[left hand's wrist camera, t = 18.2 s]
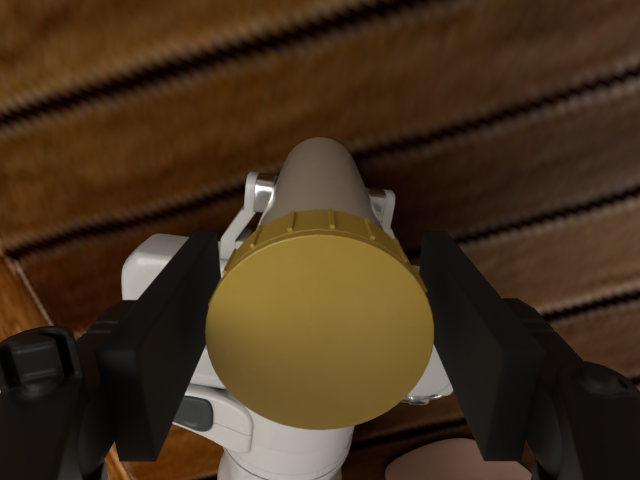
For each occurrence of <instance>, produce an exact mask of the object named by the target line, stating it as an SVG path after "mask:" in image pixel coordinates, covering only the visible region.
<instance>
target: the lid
mask: <svg viewBox="0 0 640 480" xmlns="http://www.w3.org/2000/svg"><path fill="white" fill-rule="evenodd" d="M222 273H223V274H224V275H223V277H222V278H221V279H220V281H219V283H218V285H217V287H216V289H215V291H214V293H213V295H212V297H211V299H210V301H209V303H208V306H209V309H208V313H207V317H206V326H205V337H206V346H207V351H208V355H209V359H210V361H211V364H212V366H213V369H214V371H215V373H216V374H217V376H218V378H219V380H220V381H221V382H222V384H223V385H224V386H225V388H226V389H227V390H228V391H229V392H230V393H231V394H232V395H233V396H234V398H235V399H236V400H238V401H239V402H240V403H241V404H243V405H244V406H245V407H246V408H248V409H250V410H251V411H253V412H254V413H256V414H258V415H260V416H262V417H264V418H266V419H268V420H270V421H273V422H276V423H279V424H282V425H285V426H290V427H294V428H300V429H308V430H331V429H340V428H345V427H350V426H354V425H357V424H361V423H364V422H366V421H369V420H371V419H374V418H376V417H378V416H380V415H382V414H383V413H385V412H387V411H388V410H390V409H391V408H393V407H394V406H396V405H397V404H398V403H399V402H401V401H402V400H403V399H404V398H405V397H406V396H407V395H408V394H409V393H410V392H411V391H412V390H413V388H414V387H415V386H416V385H417V383H418V382H419V380H420V379H421V377H422V376H423V374H424V372H425V370H426V368H427V365H428V363H429V360H430V357H431V354H432V350H433V343H434V321H433V314H432V310H431V307H430V304H429V301H428V298H427V296H426V294H425V293H426V292H428V291H427V289H426V287H425V285H424V283H423V281H422V279H421V277H420V275H419V273H418V271H417V269H416V267H415V265H413V266H411V264H410V262H409V260H408V258H407V256H406V255H405V253H404V252H403V249H402V247H401V245H400V243H399V241H398V239H397V238H394V239H393V238H392V237H391V236H390V235H388V234H387V233H386V232H385V231H383V230H382V229H381V228H379V227H378V226H376V225H374V224H373V223H371V222H370V220H369V218H367V217H365V219H363V218H360V217H358V216H355V215H352V214H348V213H345V212H339V211H333V208H329V210H307V211H300V212H295V210H293V211H291V214H288V215H285V216H282V217H279V218H276V219H275V220H273V221H271V222H269V223H267V224H265V225H263V226H261V224H260V225H259V226H257V229H256V231H255V232H253V233H252V234H251V235H250V236H249V237H248V238H247V239H246V240H245V241H244V242H243V243H242V244H241V246H240V247H239V248H238V249H234V250H233V252H232V254H231V256H230V258H229V260H228V262H227V264H226V266H225V267H224V269H223V271H222Z"/></svg>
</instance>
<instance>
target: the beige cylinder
mask: <svg viewBox="0 0 640 480" xmlns="http://www.w3.org/2000/svg"><path fill="white" fill-rule="evenodd" d="M329 208H333V211H339V212H345V213H348V214H352V215H355V216H358V217H360V218H363V219H365V217H367V218H369V220H370V222H371V223H373V224H374V225H376V226H378V227H379V228H381V229H382V230H383V231H384V229H383V227H382V224H381V222H380V220H379V217H378V215H377V213H376V210H375V208H374V206H373V203H372V201H371V199H370V196H369V194H368V192H367V189H366V187H365V185H364V182H363V180H362V178H361V175H360V173H359V171H358V168H357V166H356V164H355V161H354V159H353V157H352V155H351V154H350V152H349V151H348V150H347V149H346V148H345V147H344V146H343V145H342V144H340V143H339V142H337V141H335V140H332V139H329V138H323V137H317V138H311V139H307V140H305V141H303V142H301V143H299V144H298V145H297V146H295V147H294V148H293V149H292V150H291V152H290V153H289V155H288V156H287V158H286V160H285V163H284V165H283V167H282V170H281V172H280V174H279V177H278V179H277V181H276V184H275V186H274V188H273V191H272V193H271V196H270V198H269V200H268V203H267V205H266V207H265V210H264V212H263V214H262V217H261V219H260V221H259V224H258V226H259V225H260V224H261V226H263V225H265V224H267V223H269V222H271V221H273V220H275V219H276V218H279V217H282V216H285V215H288V214H291V211H293V210H295V212H300V211H307V210H329ZM256 229H257V228H256Z"/></svg>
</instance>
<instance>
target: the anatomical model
mask: <svg viewBox="0 0 640 480" xmlns="http://www.w3.org/2000/svg"><path fill="white" fill-rule="evenodd" d="M531 476H532V474H531V473H530V472H529V471H528V470H527V469H526V468H525V467H523V466H522V465H521V464H519V463H518V462H516V461H484V460H483V458H482V455H481V453H480V451H479V448H478V446H477V444H476V441H475V440H472V439H465V438H452V439H445V440H441V441H437V442H433V443H430V444H427V445H424V446H422V447H419V448H417V449H414V450H412V451H410V452H408V453H405V454H404V455H402V456H400V457H398V458H396V459H395V460H393V461H392V462H391V463H390V464H389V465H388V466H387V468H386V470H385V478H386V480H531Z"/></svg>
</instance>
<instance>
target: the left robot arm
mask: <svg viewBox="0 0 640 480" xmlns="http://www.w3.org/2000/svg"><path fill="white" fill-rule="evenodd" d="M419 275H420V277H421V279H422V281H423V283H424V285H425V287H426V289H427V291H428V292H426V293H425V294H426V296H427V298H428V301H429V304H430V307H431V310H432V314H433V321H434V343H433V344H434V346H435V348H436V351H437V353H438V355H439V358H440V360H441V362H442V365H443V367H444V369H445V372H446V374H447V376H448V379H449V381H450V383H451V386H452V388H453V390H454V393H455V395H456V397H457V400H458V402H459V404H460V407H461V409H462V411H463V414H464V416H465V418H466V421H467V423H468V425H469V427H470V430H471V432H472V434H473V437H474V439H475V441H476V444H477V446H478V448H479V451H480V453H481V455H482V458H483V460H484V461H521V457H522V453H523V448H524V444H525V440H526V441H527V442H528V444H529V446H530V448H531V449H532V451H533V453H534V455H535V456H536V460H535V464H534V468H533V472H532V476H531V480H640V392H639V390H638V389H637V388H636V387H635V386H634V384H633V383H632V382H631V381H630V380H628V379H627V378H626V377H624V376H623V375H621V374H620V373H618V372H616V371H614V370H612V369H610V368H608V367H605V366H602V365H599V364H595V363H592V362H586V361H583V360H582V359H581V358H580V357H579V356H578V355H577V354H576V353H575V352H574V350H573V349H572V348H571V347H570V346H569V345H568V344H567V343H566V342H565V341H564V340H563V339H562V338H561V337H560V336H559V334H558V333H557V332H554V329H553V328H552V327H551V326H550V325H549V324H548V323H547V322H545V319H544V318H543V317H542V316H541V315H540V314H539V313H538V312H537V311H536V310H535V309H534V308H533V307H531V306H529V305H527V304H526V303H524V302H522V301H521V300H519V299H502V298H501V297H500V296H499V295H498V293H497V292H496V291H495V290H494V289H493V287H492V286H491V285H490V284H489V283H488V281H487V280H486V279H485V278H484V277H483V275H482V274H481V273H480V272H479V271H478V269H477V268H476V267H475V266H474V265H473V263H472V262H471V261H470V260H469V259H468V257H467V256H466V255H465V254H464V253H463V251H462V250H461V249H460V248H459V247H458V245H457V244H456V243H455V242H454V240H453V239H452V238H451V237H450V236H449V234H448V233H447V232H446V231H423V237H422V248H421V259H420V269H419ZM220 279H221V269H220V259H219V248H218V237H217V231H194V232H193V233H192V234H191V236H190V237H189V238H188V239H187V240H186V242H185V243H184V244H183V245H182V246H181V248H180V249H179V250H178V251H177V253H176V254H175V255H174V256H173V257H172V259H171V260H170V261H169V262H168V263H167V265H166V266H165V267H164V268H163V269H162V271H161V272H160V273H159V274H158V275H157V277H156V278H155V279H154V280H153V281H152V283H151V284H150V285H149V286H148V287H147V289H146V290H145V291H144V292H143V293H142V295H141V296H140V297H139V298H138V299H137V300H122V301H120V302H119V303H117V304H115V305H114V306H112V307H110V308H108V309H107V310H106V311H105V312H104V313H103V314H102V315H101V316H100V317H99V318H98V319H97V320H96V321H95V324H93V325H92V326H91V327H90V328H89V329H88V330H87V331H86V334H83V335H82V336H81V337H80V339H79V340H78V341H77V342H75V338H74V334H73V331H71V330H70V329H68V328H67V327H61V326H45V327H38V328H34V329H30V330H26V331H23V332H21V333H18V334H16V335H13V336H11V337H9V338H7V339H5V340H4V341H2V342H0V390H1V393H0V480H107V479H108V474H107V468H106V464H105V460H104V459H105V457H106V455H107V453H108V452H109V450H110V448H111V446H112V445H113V443H114V441H115V444H116V448H117V453H118V457H119V461H156V460H157V458H158V455H159V453H160V451H161V448H162V446H163V444H164V441H165V439H166V437H167V434H168V432H169V430H170V427H171V425H172V423H173V420H174V418H175V416H176V414H177V411H178V409H179V407H180V404H181V402H182V400H183V397H184V395H185V393H186V390H187V388H188V386H189V383H190V381H191V379H192V376H193V374H194V372H195V369H196V367H197V365H198V362H199V360H200V358H201V355H202V353H203V351H204V348H205V346H206V337H205V326H206V317H207V313H208V309H209V306H208V303H209V301H210V299H211V297H212V295H213V293H214V291H215V289H216V287H217V285H218V283H219V281H220Z"/></svg>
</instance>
